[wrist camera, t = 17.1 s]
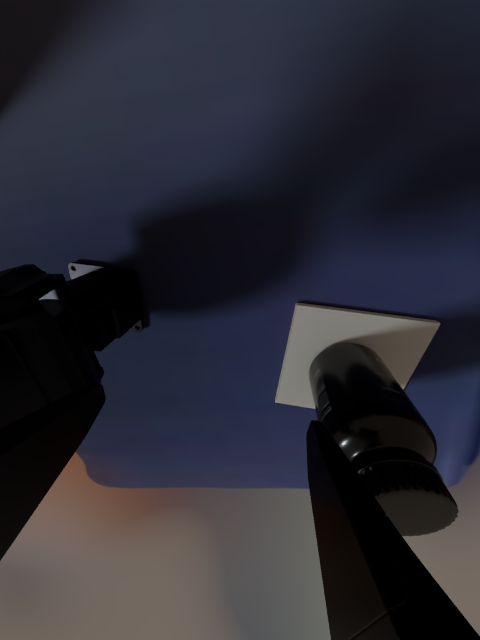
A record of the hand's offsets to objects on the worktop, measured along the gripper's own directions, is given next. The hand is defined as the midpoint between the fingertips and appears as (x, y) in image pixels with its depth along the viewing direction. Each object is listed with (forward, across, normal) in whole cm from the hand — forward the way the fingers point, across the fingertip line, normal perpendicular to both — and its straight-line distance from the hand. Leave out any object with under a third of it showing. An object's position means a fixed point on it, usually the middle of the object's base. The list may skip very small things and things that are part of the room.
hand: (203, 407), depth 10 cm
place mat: (+13, -11, +6) cm, 18 cm away
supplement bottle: (+13, -11, +6) cm, 18 cm away
